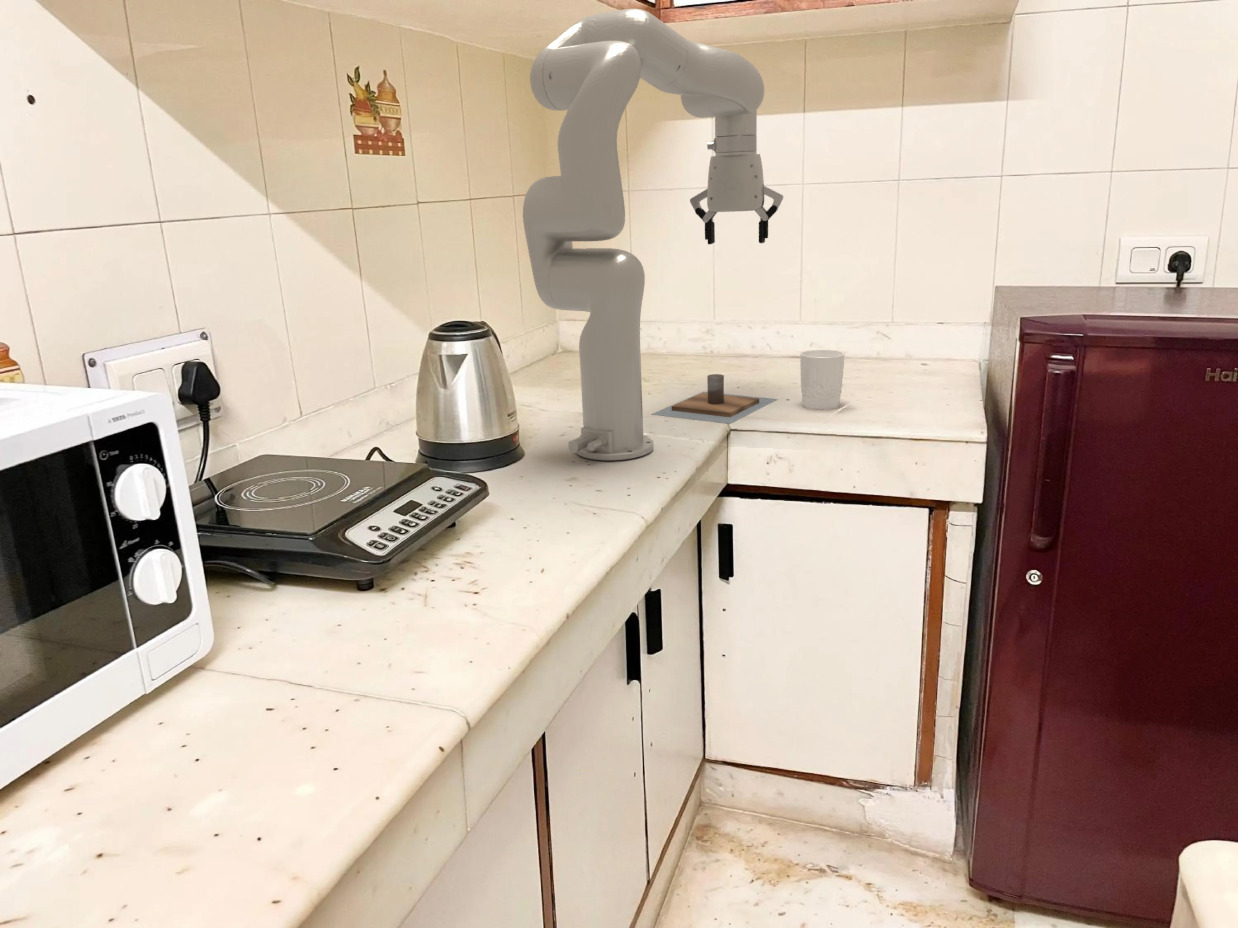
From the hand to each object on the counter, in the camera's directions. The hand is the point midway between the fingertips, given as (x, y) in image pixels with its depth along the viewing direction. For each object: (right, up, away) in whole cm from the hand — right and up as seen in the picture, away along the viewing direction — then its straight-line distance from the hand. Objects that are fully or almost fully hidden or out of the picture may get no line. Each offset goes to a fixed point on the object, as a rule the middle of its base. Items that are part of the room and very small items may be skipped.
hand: (736, 243), depth 172 cm
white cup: (+15, -31, -4) cm, 35 cm away
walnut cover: (-4, -31, -2) cm, 31 cm away
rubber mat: (-4, -31, -2) cm, 31 cm away
